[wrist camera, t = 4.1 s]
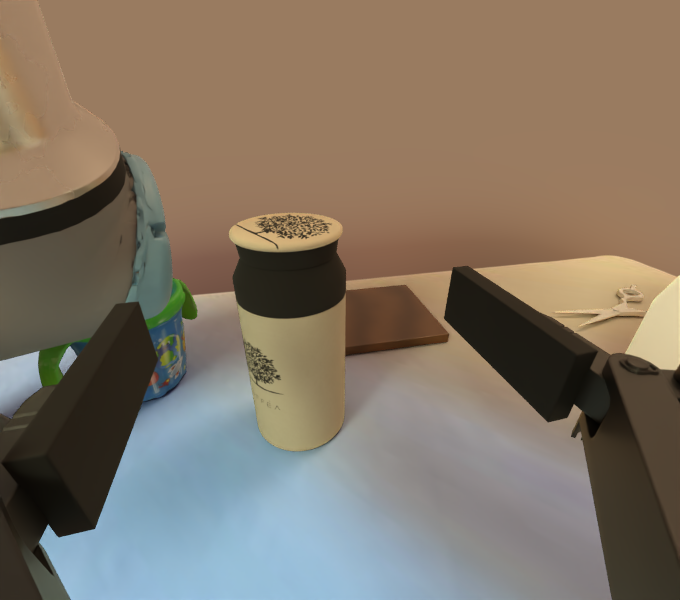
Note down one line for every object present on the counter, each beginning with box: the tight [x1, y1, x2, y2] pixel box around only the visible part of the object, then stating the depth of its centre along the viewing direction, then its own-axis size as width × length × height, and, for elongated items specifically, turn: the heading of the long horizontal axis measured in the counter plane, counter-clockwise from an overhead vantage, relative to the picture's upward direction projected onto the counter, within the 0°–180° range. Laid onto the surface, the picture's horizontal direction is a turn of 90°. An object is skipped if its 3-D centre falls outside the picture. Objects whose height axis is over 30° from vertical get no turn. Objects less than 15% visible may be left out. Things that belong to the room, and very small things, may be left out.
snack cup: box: [38, 278, 197, 401], centre depth 32 cm, size 16×10×10 cm
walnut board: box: [345, 285, 449, 355], centre depth 45 cm, size 20×14×1 cm
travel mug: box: [229, 213, 346, 451], centre depth 26 cm, size 8×8×18 cm
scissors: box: [557, 285, 647, 327], centre depth 47 cm, size 11×1×20 cm
